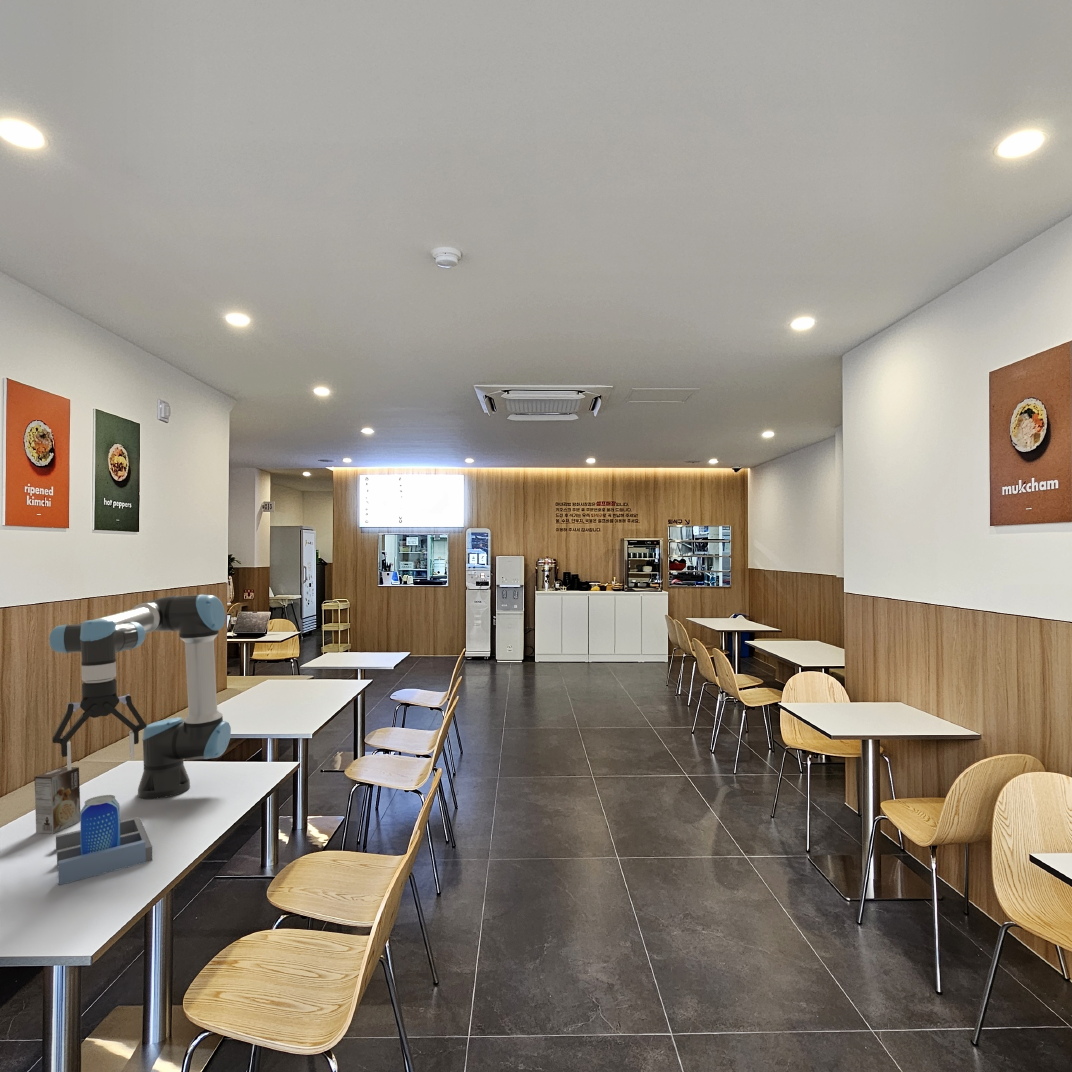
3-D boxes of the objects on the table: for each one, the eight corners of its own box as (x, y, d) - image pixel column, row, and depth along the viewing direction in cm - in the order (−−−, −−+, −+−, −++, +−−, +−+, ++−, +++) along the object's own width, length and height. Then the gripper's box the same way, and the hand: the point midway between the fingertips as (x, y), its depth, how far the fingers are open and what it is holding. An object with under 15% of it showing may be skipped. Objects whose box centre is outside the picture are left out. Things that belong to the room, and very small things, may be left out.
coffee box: (63, 820, 202) (62, 766, 202) (81, 821, 200) (80, 766, 201) (34, 833, 193) (33, 776, 193) (53, 834, 191) (52, 777, 192)
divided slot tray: (139, 828, 193) (139, 811, 193) (152, 860, 172) (152, 840, 172) (55, 848, 181) (55, 829, 181) (58, 885, 160) (58, 863, 160)
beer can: (78, 873, 166) (77, 808, 166) (83, 860, 173) (82, 797, 174) (118, 865, 170) (117, 801, 170) (121, 852, 177) (120, 791, 178)
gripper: (152, 671, 184) (154, 749, 184) (38, 685, 169) (41, 770, 169) (156, 674, 178) (158, 755, 178) (39, 689, 163) (41, 777, 163)
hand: (101, 762), depth 174 cm, fingers open, 13 cm apart
